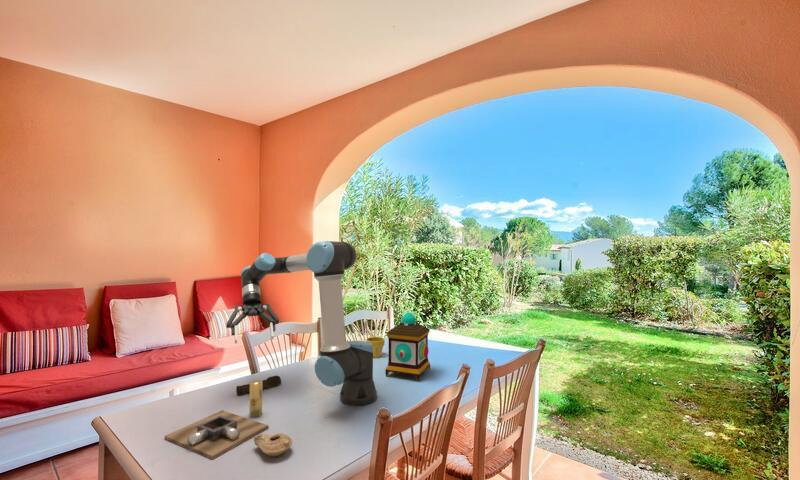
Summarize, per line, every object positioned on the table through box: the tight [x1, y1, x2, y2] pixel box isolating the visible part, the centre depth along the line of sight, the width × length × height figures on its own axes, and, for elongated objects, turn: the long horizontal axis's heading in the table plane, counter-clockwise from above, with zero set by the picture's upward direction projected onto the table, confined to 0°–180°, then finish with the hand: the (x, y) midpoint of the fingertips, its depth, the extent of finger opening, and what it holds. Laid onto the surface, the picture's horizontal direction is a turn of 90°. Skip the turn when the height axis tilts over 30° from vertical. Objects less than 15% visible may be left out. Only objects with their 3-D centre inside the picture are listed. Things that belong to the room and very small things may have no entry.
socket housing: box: [187, 415, 240, 446], centre depth 118 cm, size 13×13×3 cm
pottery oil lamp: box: [253, 432, 293, 457], centre depth 113 cm, size 9×12×7 cm
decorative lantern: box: [385, 312, 431, 382], centre depth 182 cm, size 20×20×30 cm
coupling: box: [248, 379, 263, 418], centre depth 137 cm, size 4×4×12 cm
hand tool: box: [235, 375, 282, 397], centre depth 160 cm, size 19×4×5 cm, turn 127°
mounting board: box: [164, 409, 270, 460], centre depth 123 cm, size 24×21×1 cm
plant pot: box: [365, 336, 386, 359], centre depth 209 cm, size 10×10×10 cm
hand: (254, 339), depth 148 cm, fingers open, 13 cm apart
